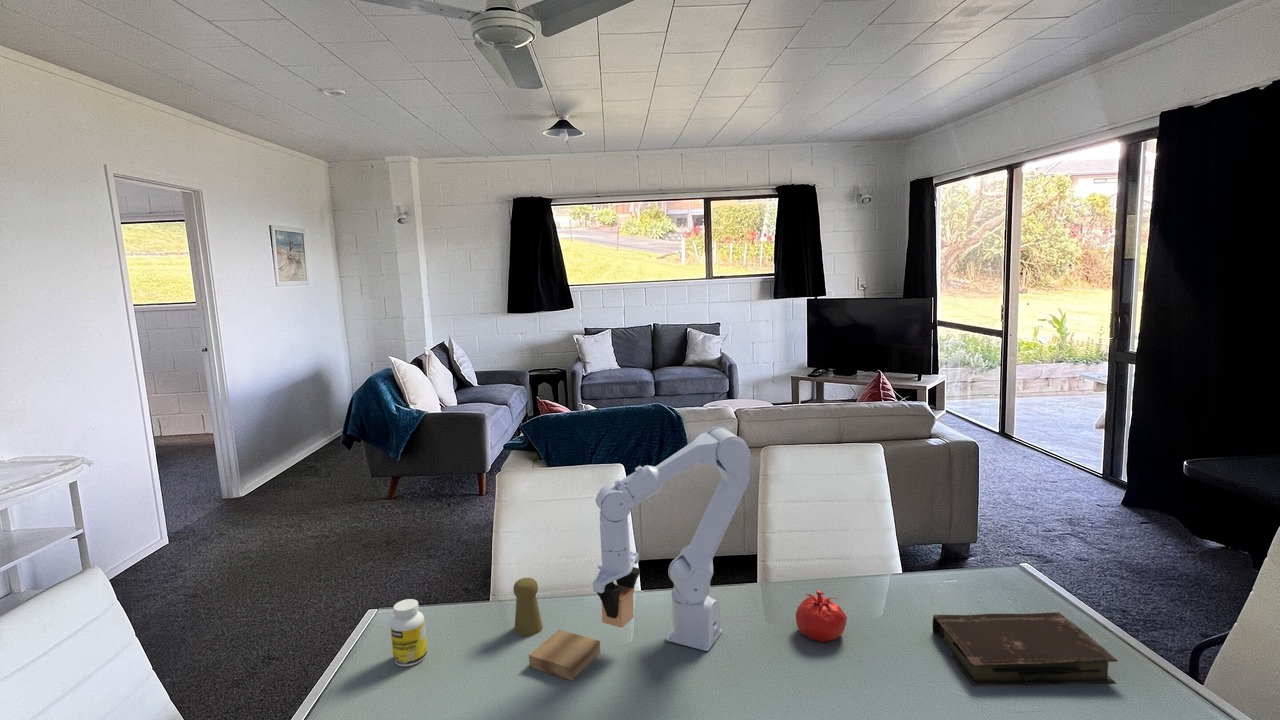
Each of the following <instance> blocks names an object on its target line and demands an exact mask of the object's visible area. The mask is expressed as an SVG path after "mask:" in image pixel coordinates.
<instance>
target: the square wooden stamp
mask: <svg viewBox="0 0 1280 720" xmlns="http://www.w3.org/2000/svg"><path fill="white" fill-rule="evenodd" d="M615 586H619V587H622V590H621V593H620V596H619V602H618V615H617V618H611V617H607V615H606V612H605V609H604V606H603V603H602V602H601V618H602V619H601V621H602V624H605V625H610V626H612V627H613V626H614V627H618V628H621V629H623V628H624V627H625V626H626V625H627V624H628V623H629V622H631V620H633V618H634V592H635V588H634V589H633V588H628V587H624V586H620V585H617V584H615Z"/></svg>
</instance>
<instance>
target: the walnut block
mask: <svg viewBox="0 0 1280 720" xmlns="http://www.w3.org/2000/svg"><path fill="white" fill-rule="evenodd" d="M600 653H601V641H600V640H598V639H594V638H591V637H588V636H583V635H581V634H576V633H573V632H569V631H565V630H562V629H558V630H557V631H555V632H554V633H553V634H552V635H550V637H548V638H547V639H546V640H545V641H544V642H543V643H541V644H540V645H539V646H538V647H536V649H534V650H533V651H532V652H531V653H529V654H528V660H529V661H528V662H529V668H531V669H535V670H538V671H541V672H544V673H546V674H547V673H548V674H550V675H554V676H557V677H560V678H562V679H567V680H569V681H573V680H574V679H575V678H576V677H577V676H578V675H579V674H580V673H582V671H583V670H584V669H585V668H586V667H587V666H588V665H590V663H591V662H592V661H593V660H595V659H596V657H597V656H598V655H599V654H600Z"/></svg>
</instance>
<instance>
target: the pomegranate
mask: <svg viewBox="0 0 1280 720" xmlns="http://www.w3.org/2000/svg"><path fill="white" fill-rule="evenodd" d="M815 591H816V592H815V593H816V596H815V595H813V594H810V593H809V594H808V593H806V594H805V595H806V596H807V597H806V598H805V599H803V600H802V602H801V603H800V604H799V605H798V607H797V608H796V612H795V622H796V627H797V629H798V631H799V632H800V633H801V634H802V635H804V636H806V637H807V638H809V639H811V640H814V641H818V642H821V643H826V642H832V641H834V640H836V639H838V638H839V637H840V636H842V635H843V633H844V631H845V629H846V625H847V614H846V613H845V612H844V611H843V609H842V608H841V606H840V605H839V604H837V603H836V602H834V601H832V600H831V599H836V600H838V599H839V598H838V597H834V596H833V597H824V595H825V592H822V591H821V590H820V589H816V590H815Z"/></svg>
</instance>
